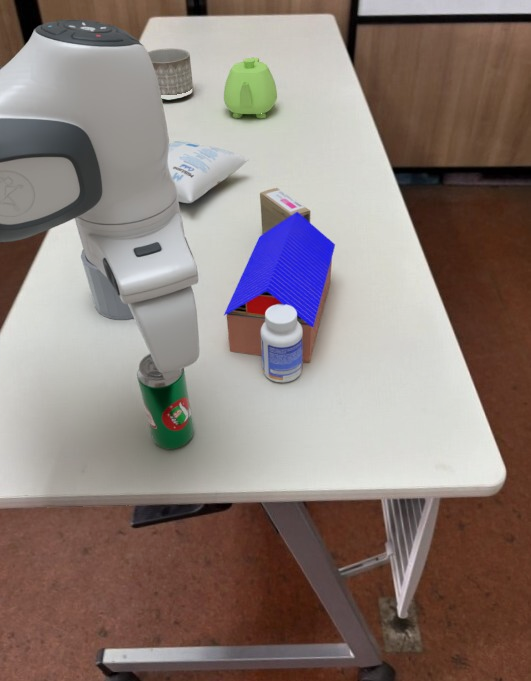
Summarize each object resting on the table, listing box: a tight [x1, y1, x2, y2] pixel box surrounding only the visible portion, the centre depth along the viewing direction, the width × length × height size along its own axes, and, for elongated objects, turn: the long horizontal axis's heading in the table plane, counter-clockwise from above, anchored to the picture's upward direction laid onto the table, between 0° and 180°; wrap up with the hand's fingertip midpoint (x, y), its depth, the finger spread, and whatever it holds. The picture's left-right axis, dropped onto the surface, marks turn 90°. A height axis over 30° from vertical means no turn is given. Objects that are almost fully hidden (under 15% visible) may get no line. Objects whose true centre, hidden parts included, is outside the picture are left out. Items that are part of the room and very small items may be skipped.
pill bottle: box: [261, 304, 303, 383], centre depth 74 cm, size 5×5×10 cm
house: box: [223, 212, 336, 364], centre depth 82 cm, size 12×20×12 cm, turn 167°
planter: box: [147, 48, 194, 95], centre depth 154 cm, size 13×13×10 cm
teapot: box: [223, 57, 278, 119], centre depth 143 cm, size 20×13×13 cm
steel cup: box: [80, 248, 134, 321], centre depth 87 cm, size 10×10×9 cm
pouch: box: [168, 140, 250, 204], centre depth 114 cm, size 8×19×20 cm
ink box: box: [259, 187, 311, 235], centre depth 98 cm, size 10×4×8 cm, turn 32°
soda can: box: [136, 353, 195, 450], centre depth 65 cm, size 5×5×12 cm
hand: (156, 343), depth 59 cm, fingers open, 8 cm apart
